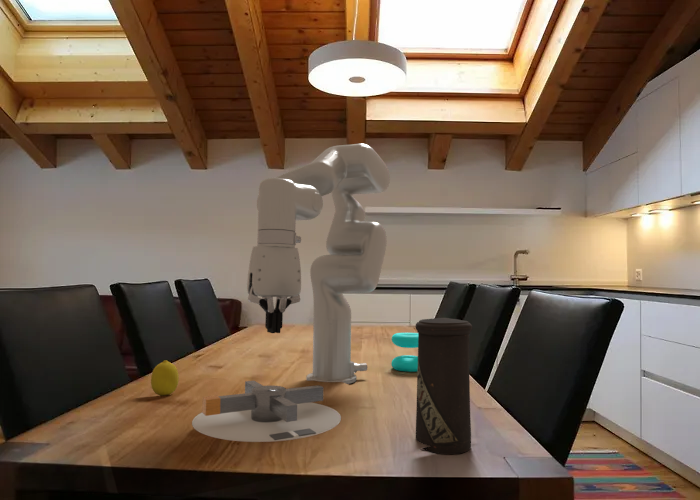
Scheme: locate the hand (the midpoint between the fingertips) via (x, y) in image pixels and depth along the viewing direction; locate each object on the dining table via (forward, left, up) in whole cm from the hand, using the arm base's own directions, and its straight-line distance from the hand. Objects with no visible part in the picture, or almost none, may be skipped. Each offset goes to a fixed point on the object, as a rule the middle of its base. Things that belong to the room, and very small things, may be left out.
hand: (273, 332), depth 101 cm
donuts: (-50, -22, -15) cm, 57 cm away
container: (-16, +33, -15) cm, 39 cm away
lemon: (+17, -18, -15) cm, 29 cm away
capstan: (+4, +9, -14) cm, 17 cm away
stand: (+4, +9, -15) cm, 18 cm away
